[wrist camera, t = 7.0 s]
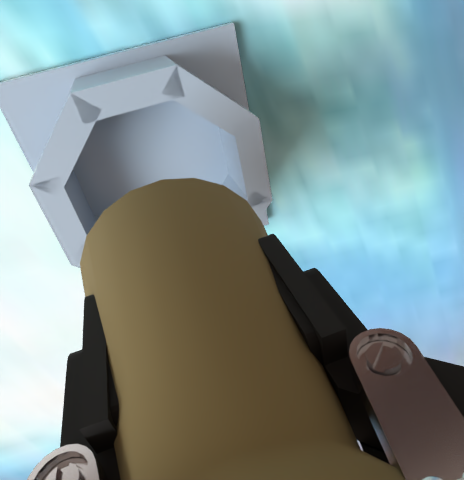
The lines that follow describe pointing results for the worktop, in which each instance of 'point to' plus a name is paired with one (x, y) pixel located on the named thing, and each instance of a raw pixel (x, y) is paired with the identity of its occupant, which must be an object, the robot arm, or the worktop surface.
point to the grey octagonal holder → (136, 128)
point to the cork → (209, 346)
